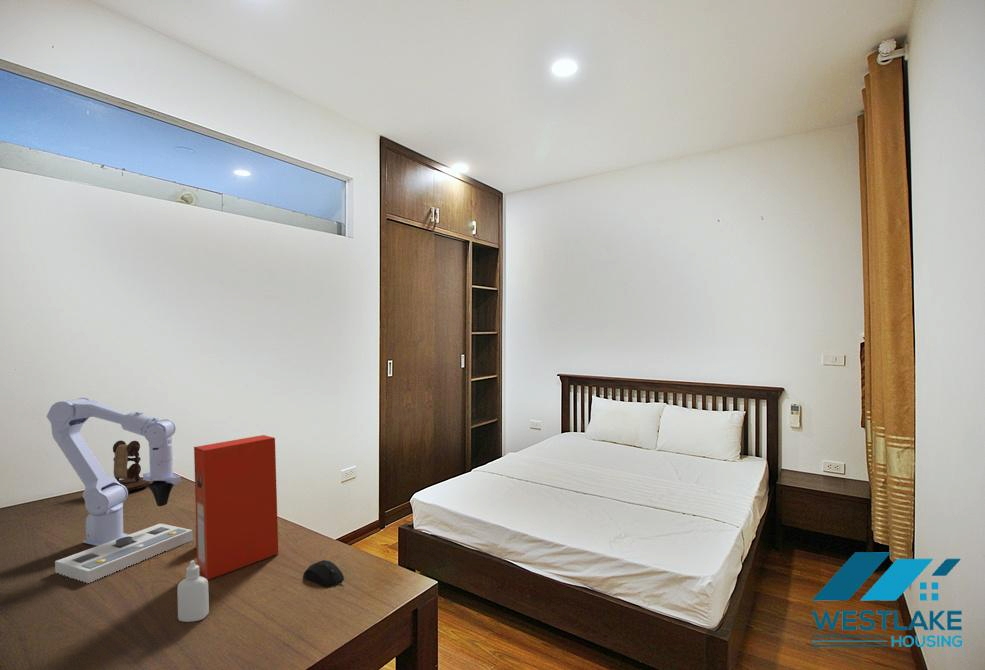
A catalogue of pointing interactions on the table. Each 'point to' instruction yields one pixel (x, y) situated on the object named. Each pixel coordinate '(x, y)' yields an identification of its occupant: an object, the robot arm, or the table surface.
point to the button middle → (123, 542)
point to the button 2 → (157, 531)
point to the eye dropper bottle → (193, 595)
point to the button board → (122, 553)
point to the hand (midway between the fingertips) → (162, 505)
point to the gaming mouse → (324, 574)
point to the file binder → (235, 504)
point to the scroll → (121, 459)
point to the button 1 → (85, 558)
